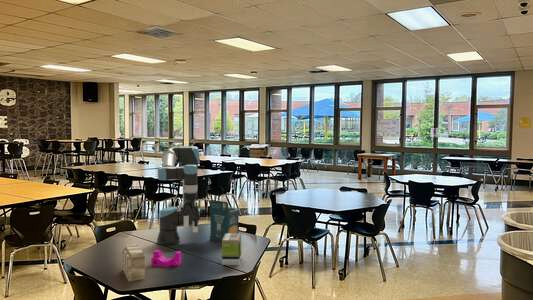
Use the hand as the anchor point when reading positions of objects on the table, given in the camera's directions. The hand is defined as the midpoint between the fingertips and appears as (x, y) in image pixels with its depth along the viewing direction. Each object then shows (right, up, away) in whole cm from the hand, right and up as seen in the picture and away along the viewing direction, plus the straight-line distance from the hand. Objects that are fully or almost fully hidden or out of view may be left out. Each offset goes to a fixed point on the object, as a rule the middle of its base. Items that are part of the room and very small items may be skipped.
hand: (190, 229), depth 228 cm
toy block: (-13, -20, -2) cm, 24 cm away
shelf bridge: (-27, -20, -17) cm, 38 cm away
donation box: (+15, -17, +53) cm, 57 cm away
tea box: (+23, -20, +6) cm, 31 cm away
